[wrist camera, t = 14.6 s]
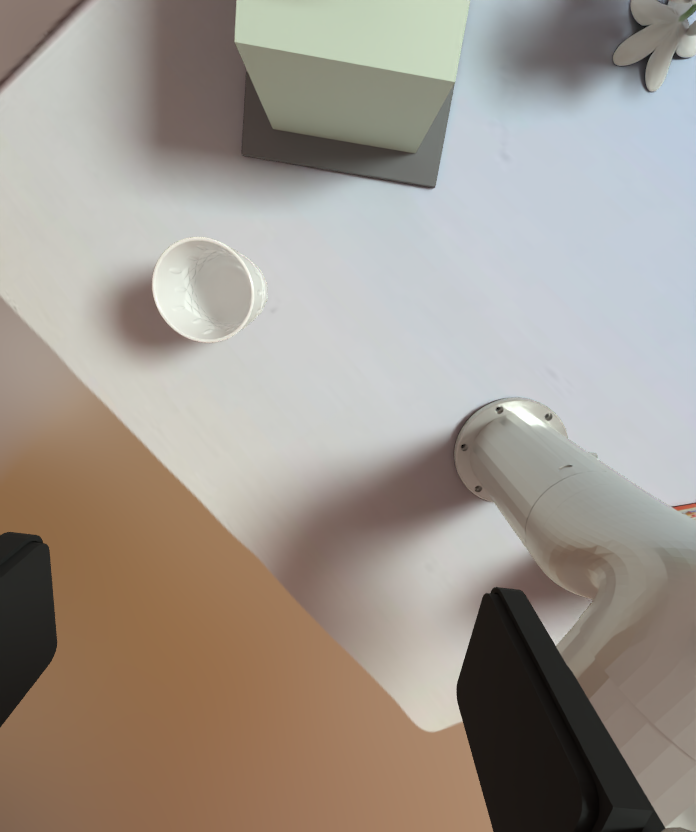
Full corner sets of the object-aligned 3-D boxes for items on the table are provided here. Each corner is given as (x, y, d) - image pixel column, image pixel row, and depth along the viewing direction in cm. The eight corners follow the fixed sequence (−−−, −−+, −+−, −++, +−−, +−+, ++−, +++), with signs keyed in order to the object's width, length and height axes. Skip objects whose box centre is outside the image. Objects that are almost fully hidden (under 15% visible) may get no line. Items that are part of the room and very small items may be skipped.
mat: (479, -57, 34) (482, -63, 33) (433, 187, 39) (435, 186, 38) (258, -102, 33) (257, -109, 32) (243, 155, 38) (241, 153, 37)
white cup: (180, 269, 41) (131, 264, 31) (251, 234, 40) (222, 218, 30) (219, 342, 43) (184, 358, 34) (287, 310, 42) (271, 318, 33)
